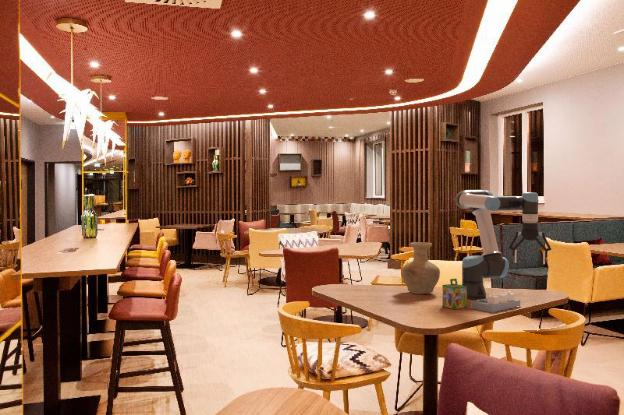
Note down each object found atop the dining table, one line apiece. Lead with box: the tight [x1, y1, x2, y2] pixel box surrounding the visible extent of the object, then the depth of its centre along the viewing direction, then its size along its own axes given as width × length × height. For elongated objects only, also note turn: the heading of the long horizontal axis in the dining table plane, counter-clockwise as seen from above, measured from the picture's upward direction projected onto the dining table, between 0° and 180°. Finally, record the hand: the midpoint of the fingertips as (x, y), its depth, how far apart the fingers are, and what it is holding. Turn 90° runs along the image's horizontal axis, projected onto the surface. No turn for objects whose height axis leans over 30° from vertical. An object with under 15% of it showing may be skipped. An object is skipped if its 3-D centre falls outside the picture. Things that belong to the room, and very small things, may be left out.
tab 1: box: [487, 294, 499, 305], centre depth 269 cm, size 4×4×6 cm
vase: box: [401, 241, 441, 295], centre depth 315 cm, size 22×22×30 cm
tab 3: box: [503, 290, 516, 301], centre depth 277 cm, size 4×4×6 cm
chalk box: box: [441, 278, 468, 310], centre depth 276 cm, size 9×9×15 cm
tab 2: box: [495, 292, 507, 303], centre depth 273 cm, size 4×4×6 cm
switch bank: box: [470, 297, 521, 313], centre depth 276 cm, size 24×13×4 cm, turn 126°
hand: (529, 263), depth 274 cm, fingers open, 13 cm apart
